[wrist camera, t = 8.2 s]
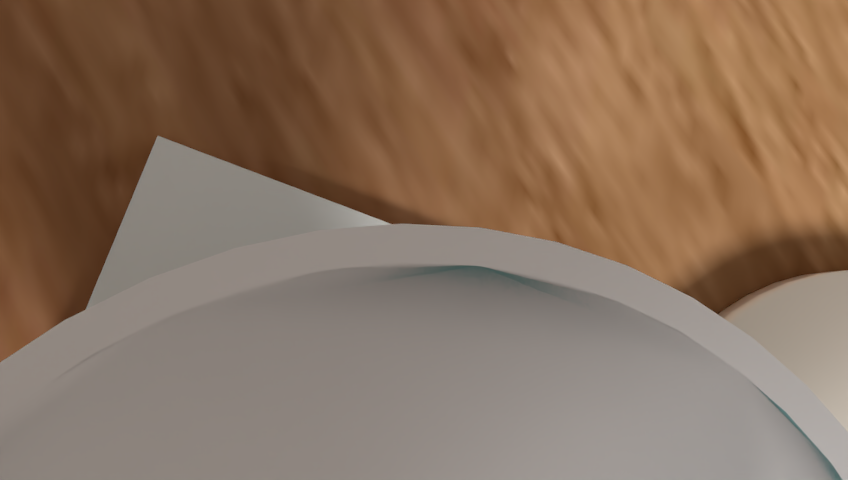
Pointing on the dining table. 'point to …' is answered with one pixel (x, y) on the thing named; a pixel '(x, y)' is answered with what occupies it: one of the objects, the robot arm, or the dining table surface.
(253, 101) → the dining table surface
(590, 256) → the teal canister
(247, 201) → the grey mat
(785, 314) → the cream saucer
